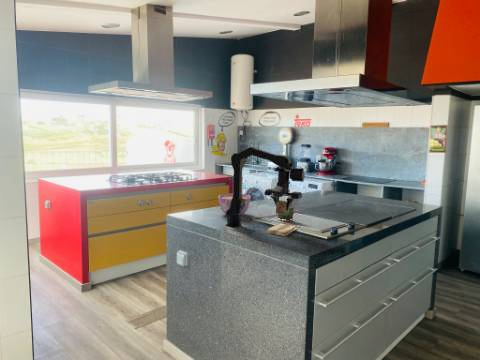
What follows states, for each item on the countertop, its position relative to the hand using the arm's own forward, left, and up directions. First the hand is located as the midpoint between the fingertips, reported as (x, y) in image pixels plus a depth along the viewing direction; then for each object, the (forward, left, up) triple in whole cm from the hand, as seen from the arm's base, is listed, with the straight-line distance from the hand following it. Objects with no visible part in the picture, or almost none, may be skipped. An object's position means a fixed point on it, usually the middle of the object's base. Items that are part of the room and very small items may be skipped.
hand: (282, 210), depth 192 cm
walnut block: (0, 0, -2) cm, 2 cm away
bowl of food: (-39, +17, -12) cm, 44 cm away
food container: (-9, +22, -12) cm, 26 cm away
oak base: (0, 0, -11) cm, 11 cm away
